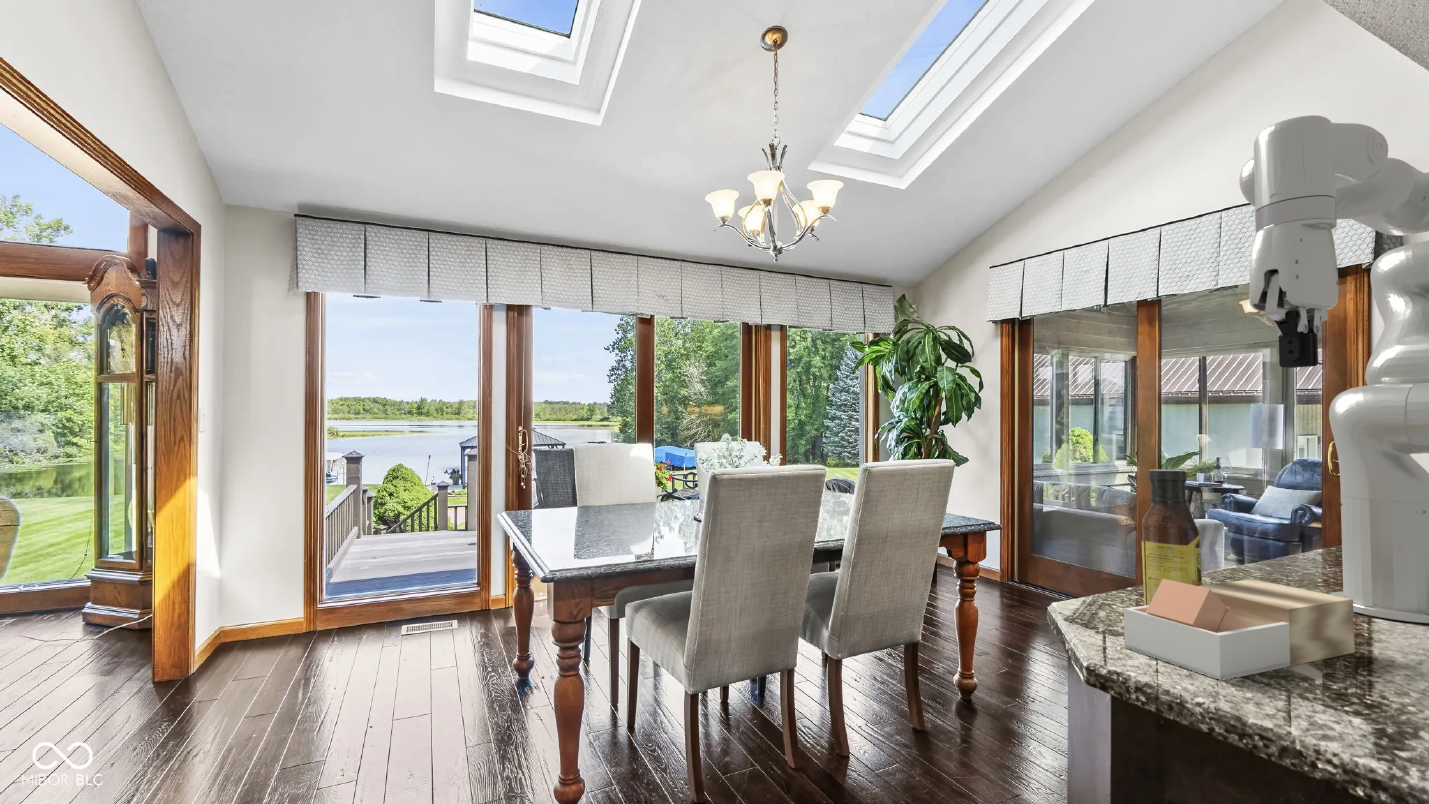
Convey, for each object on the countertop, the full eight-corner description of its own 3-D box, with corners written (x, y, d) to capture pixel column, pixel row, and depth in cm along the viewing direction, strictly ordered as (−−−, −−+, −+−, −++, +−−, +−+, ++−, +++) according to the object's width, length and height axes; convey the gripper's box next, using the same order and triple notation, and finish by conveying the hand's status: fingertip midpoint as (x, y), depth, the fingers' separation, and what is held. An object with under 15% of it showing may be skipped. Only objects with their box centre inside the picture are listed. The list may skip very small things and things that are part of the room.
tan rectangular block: (1253, 626, 82) (1252, 579, 82) (1354, 652, 72) (1353, 599, 73) (1191, 636, 77) (1190, 587, 78) (1290, 666, 68) (1288, 609, 68)
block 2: (1181, 595, 73) (1168, 620, 72) (1229, 607, 69) (1215, 634, 68) (1202, 618, 74) (1189, 643, 73) (1250, 631, 70) (1237, 658, 69)
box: (1191, 636, 77) (1190, 599, 77) (1290, 666, 68) (1289, 623, 68) (1124, 648, 73) (1123, 608, 73) (1220, 680, 64) (1219, 635, 64)
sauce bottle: (1214, 632, 79) (1210, 472, 80) (1157, 629, 80) (1154, 470, 81) (1186, 617, 85) (1183, 468, 86) (1134, 614, 87) (1132, 467, 87)
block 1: (1179, 596, 73) (1162, 578, 72) (1227, 608, 69) (1210, 588, 68) (1162, 629, 72) (1145, 611, 71) (1210, 643, 67) (1192, 624, 67)
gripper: (1294, 236, 86) (1298, 371, 86) (1223, 222, 81) (1226, 366, 80) (1367, 219, 79) (1372, 366, 79) (1294, 203, 74) (1298, 361, 73)
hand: (1298, 366), depth 79 cm, fingers closed
